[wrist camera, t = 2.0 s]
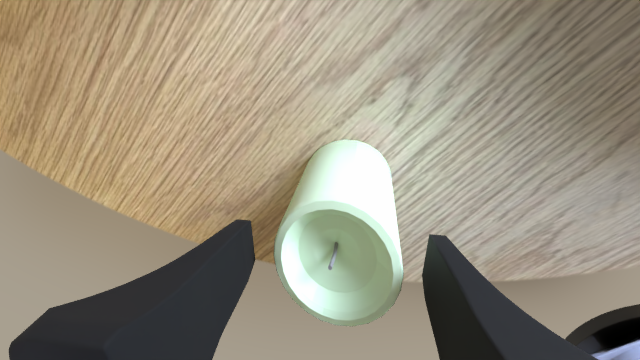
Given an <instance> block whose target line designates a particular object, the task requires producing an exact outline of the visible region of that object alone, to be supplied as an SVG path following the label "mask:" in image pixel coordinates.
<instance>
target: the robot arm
mask: <svg viewBox="0 0 640 360" xmlns="http://www.w3.org/2000/svg"><path fill="white" fill-rule="evenodd" d="M254 262H255V253H254V245H253V236H252V227H251V221H248V220H235V221H234V222H232V223H231V224H229V225H228V226H226V227H225V228H223V229H222V230H220V231H219V232H218V233H216V234H215V235H213V236H212V237H210V238H209V239H207V240H206V241H204V242H203V243H202V244H200V245H199V246H197V247H195V248H194V249H192V250H191V251H189V252H187V253H186V254H185V255H182V256H181V257H179V258H178V259H176V260H174V261H172V262H170V263H169V264H167V265H165V266H163V267H161V268H159V269H157V270H155V271H153V272H151V273H149V274H147V275H145V276H142V277H140V278H137V279H135V280H133V281H131V282H128V283H126V284H124V285H121V286H118V287H116V288H113V289H111V290H108V291H105V292H102V293H99V294H96V295H93V296H91V297H87V298H84V299H81V300H77V301H74V302H70V303H67V304H64V305H60V306H56V307H53V308H49V309H48V310H47V311H46V312H45V313H44V314H43V315H42V316H40V317H39V318H38V319H37V320H36V321H35V322H34V323H33V324H32V325H30V326H29V327H28V328H27V329H26V330H25V331H24V332H23V333H22V334H20V335H19V336H18V337H17V338H16V339H15V340H14V341H13V342H12V343H11V345H10V347H9V357H10V360H212V358H213V356H214V353H215V350H216V348H217V345H218V342H219V339H220V337H221V335H222V333H223V331H224V329H225V326H226V324H227V322H228V320H229V319H230V317H231V315H232V312H233V311H234V309H235V307H236V305H237V303H238V301H239V298H240V297H241V294H242V292H243V290H244V288H245V286H246V284H247V282H248V279H249V277H250V274H251V271H252V268H253V265H254ZM422 278H423V287H424V295H425V301H426V306H427V310H428V314H429V318H430V322H431V326H432V329H433V334H434V337H435V341H436V345H437V349H438V353H439V358H440V360H640V337H637V338H634V339H631V340H629V341H626V342H623V343H620V344H618V345H615V346H612V347H609V348H607V349H604V350H601V351H598V352H596V353H593V354H590V355H589V354H587V353H586V352H584V351H583V350H581V349H579V348H578V347H576V346H574V345H573V344H571V343H569V342H568V341H566V340H565V339H563V338H561V337H560V336H558V335H557V334H555V333H554V332H552V331H551V330H549V329H548V328H546V327H545V326H543V325H542V324H541V323H539V322H538V321H536V320H535V319H533V318H532V317H531V316H529V315H528V314H527V313H525V312H524V311H523V310H521V309H520V308H519V307H518V306H516V305H515V304H514V303H513V302H512V301H510V300H509V299H508V298H506V297H505V296H504V295H503V294H502V293H501V292H500V291H499V290H497V289H496V288H495V287H494V286H493V285H492V284H491V283H490V282H489V281H488V280H487V279H486V278H485V277H484V276H483V275H482V274H481V273H480V272H479V271H478V270H477V269H476V268H475V267H474V266H473V265H472V264H471V263H470V262H469V261H468V260H467V259H466V258H465V257H464V256H463V254H462V253H461V252H460V251H459V250H458V249H457V248H456V247H455V245H454V244H453V243H452V242H451V241H450V240H449V239H448V238H447V237H446V236H442V235H429V240H428V245H427V251H426V257H425V262H424V268H423V273H422Z"/></svg>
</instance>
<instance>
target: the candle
mask: <svg viewBox="0 0 640 360" xmlns="http://www.w3.org/2000/svg"><path fill="white" fill-rule="evenodd" d="M274 259H275V265H276V270H277V273H278V275H279V277H280V280H281V281H282V284H283V286H284V288H285V289H286V290H287V292H288V293H289V294H290V296H291V297H292V299H293V300H294V301H295V302H296V303H297V304H298V305H299V306H300V307H302V308H303V309H304V310H305V311H306V312H307V313H309V314H311V315H313V316H314V317H316V318H318V319H319V320H322V321H325V322H328V323H331V324H334V325H340V326H357V325H362V324H367V323H370V322H372V321H374V320H376V319H378V318H380V317H381V316H383V315H384V314H385V313H386V312H387V311H388V310H389V309H390V308H391V307H392V306H393V305H394V303H395V301H396V299H397V297H398V295H399V293H400V291H401V286H402V280H403V274H404V272H403V265H402V257H401V249H400V242H399V234H398V226H397V218H396V211H395V203H394V195H393V188H392V180H391V172H390V168H389V166H388V164H387V162H386V160H385V158H384V157H383V156H382V155H381V154H380V153H379V151H377V150H376V149H374V148H373V147H371V146H370V145H368V144H366V143H363V142H360V141H357V140H347V139H345V140H338V141H333V142H331V143H329V144H326V145H324V146H322V147H321V148H320V149H319V150H317V151H316V152H315V153H314V154H313V156H312V157H311V159H310V160H309V162H308V164H307V166H306V168H305V171H304V173H303V175H302V177H301V179H300V182H299V184H298V186H297V188H296V190H295V193H294V195H293V197H292V199H291V201H290V203H289V206H288V208H287V210H286V212H285V214H284V217H283V219H282V221H281V223H280V225H279V228H278V231H277V234H276V237H275V242H274Z"/></svg>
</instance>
